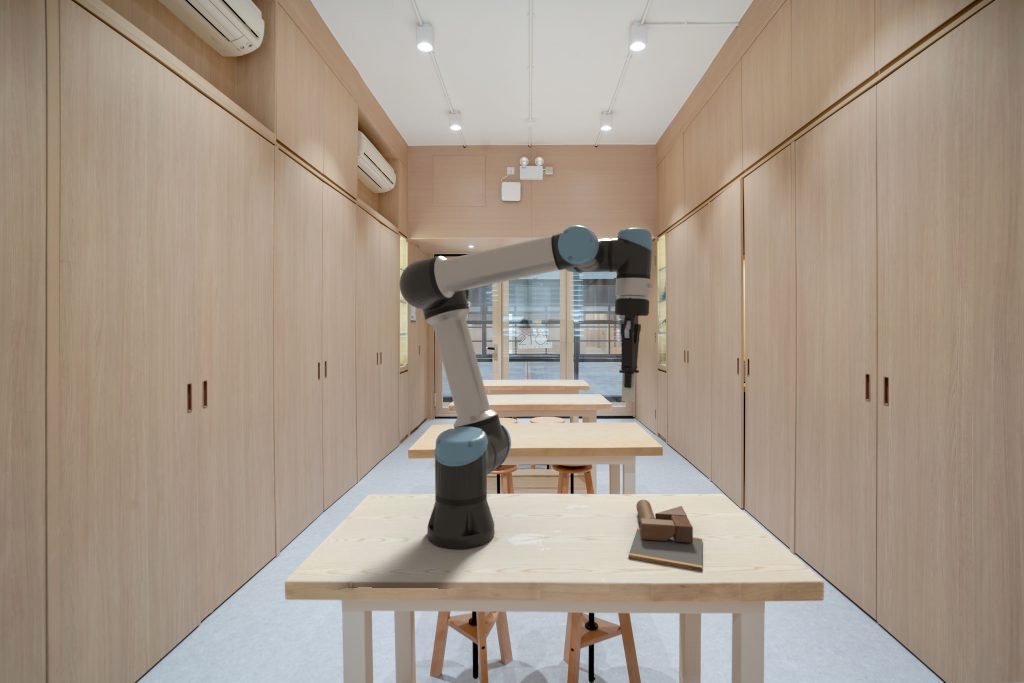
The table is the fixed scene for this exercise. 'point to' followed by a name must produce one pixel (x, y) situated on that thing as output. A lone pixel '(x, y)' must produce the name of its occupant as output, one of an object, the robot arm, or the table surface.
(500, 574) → the table surface
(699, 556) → the mat
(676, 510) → the wooden block assembly
